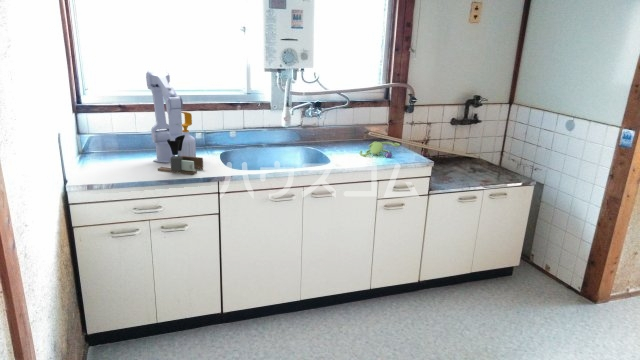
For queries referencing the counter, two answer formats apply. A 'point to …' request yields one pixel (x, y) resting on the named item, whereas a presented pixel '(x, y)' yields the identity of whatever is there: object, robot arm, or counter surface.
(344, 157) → the counter surface
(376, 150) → the figurine
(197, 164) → the door frame
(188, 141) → the soap bottle
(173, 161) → the block
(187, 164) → the pale green block
